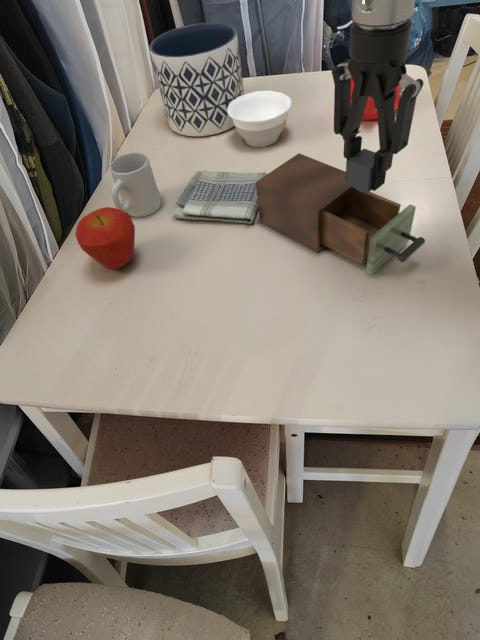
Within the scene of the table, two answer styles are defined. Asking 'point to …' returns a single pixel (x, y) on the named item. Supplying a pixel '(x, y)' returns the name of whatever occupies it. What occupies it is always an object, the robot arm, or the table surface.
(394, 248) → the drawer
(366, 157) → the block
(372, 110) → the teapot
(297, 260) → the table surface
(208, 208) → the dish towel
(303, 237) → the cabinet
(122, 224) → the apple
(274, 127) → the bowl
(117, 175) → the mug
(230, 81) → the planter
